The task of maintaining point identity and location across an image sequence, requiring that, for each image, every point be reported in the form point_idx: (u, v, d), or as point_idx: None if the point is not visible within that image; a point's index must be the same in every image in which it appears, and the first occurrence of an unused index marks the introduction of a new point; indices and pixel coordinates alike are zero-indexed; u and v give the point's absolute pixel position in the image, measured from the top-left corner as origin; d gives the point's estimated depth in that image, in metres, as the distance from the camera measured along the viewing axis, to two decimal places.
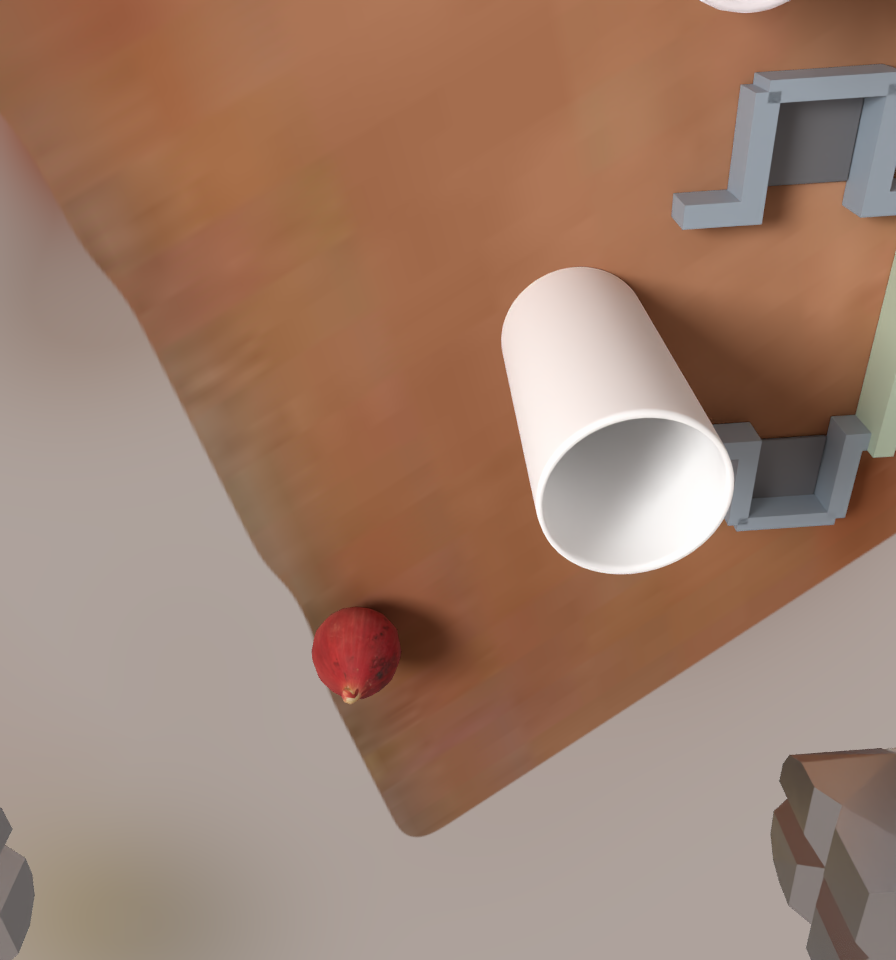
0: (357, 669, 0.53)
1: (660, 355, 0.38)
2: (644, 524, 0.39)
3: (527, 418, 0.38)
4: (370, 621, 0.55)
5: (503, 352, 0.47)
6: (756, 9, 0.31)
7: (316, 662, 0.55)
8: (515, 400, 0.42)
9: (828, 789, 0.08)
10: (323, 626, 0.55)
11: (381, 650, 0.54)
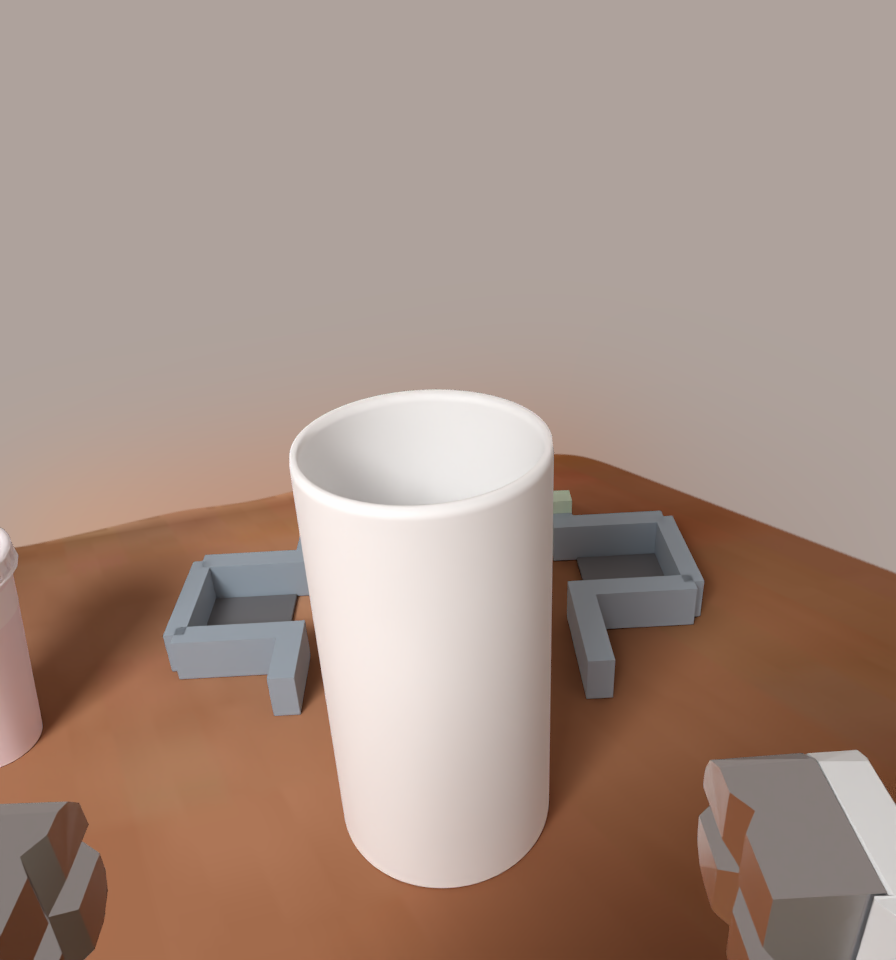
0: None
1: None
2: None
3: (388, 649, 0.25)
4: None
5: (449, 865, 0.30)
6: (2, 555, 0.34)
7: None
8: (427, 737, 0.27)
9: (742, 794, 0.08)
10: None
11: None
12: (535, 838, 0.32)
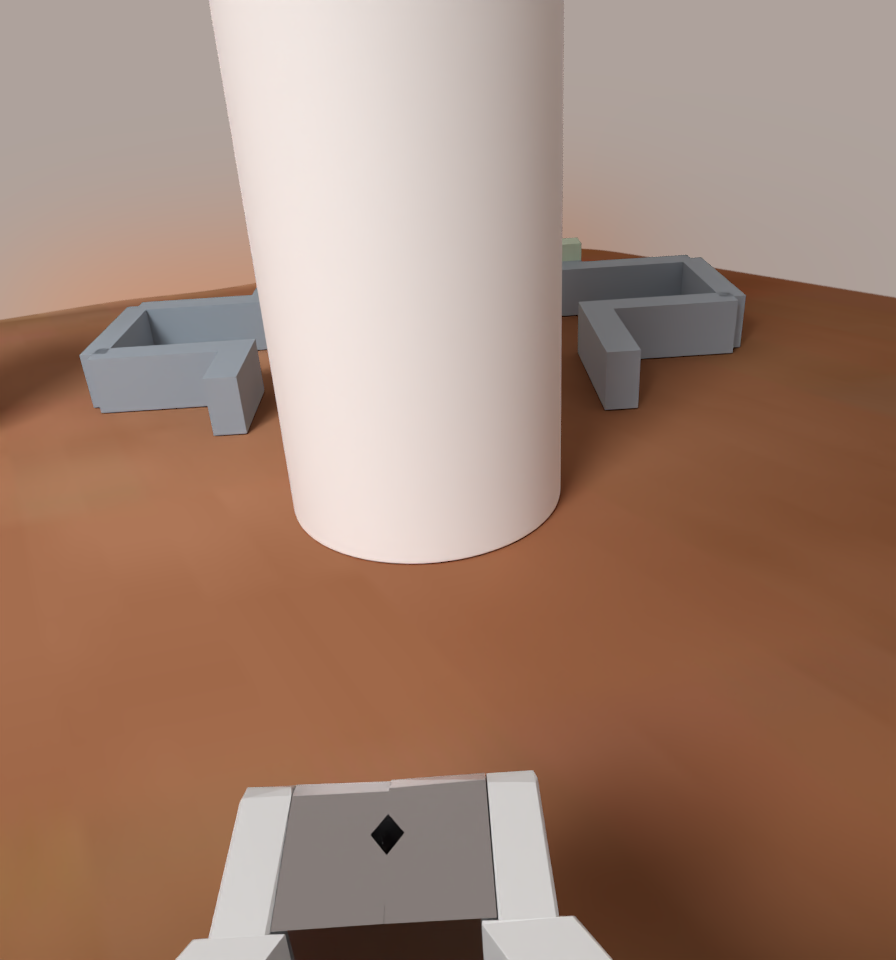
0: None
1: None
2: None
3: (330, 124, 0.18)
4: None
5: (428, 523, 0.22)
6: None
7: None
8: (391, 288, 0.19)
9: (399, 816, 0.08)
10: None
11: None
12: (543, 514, 0.24)
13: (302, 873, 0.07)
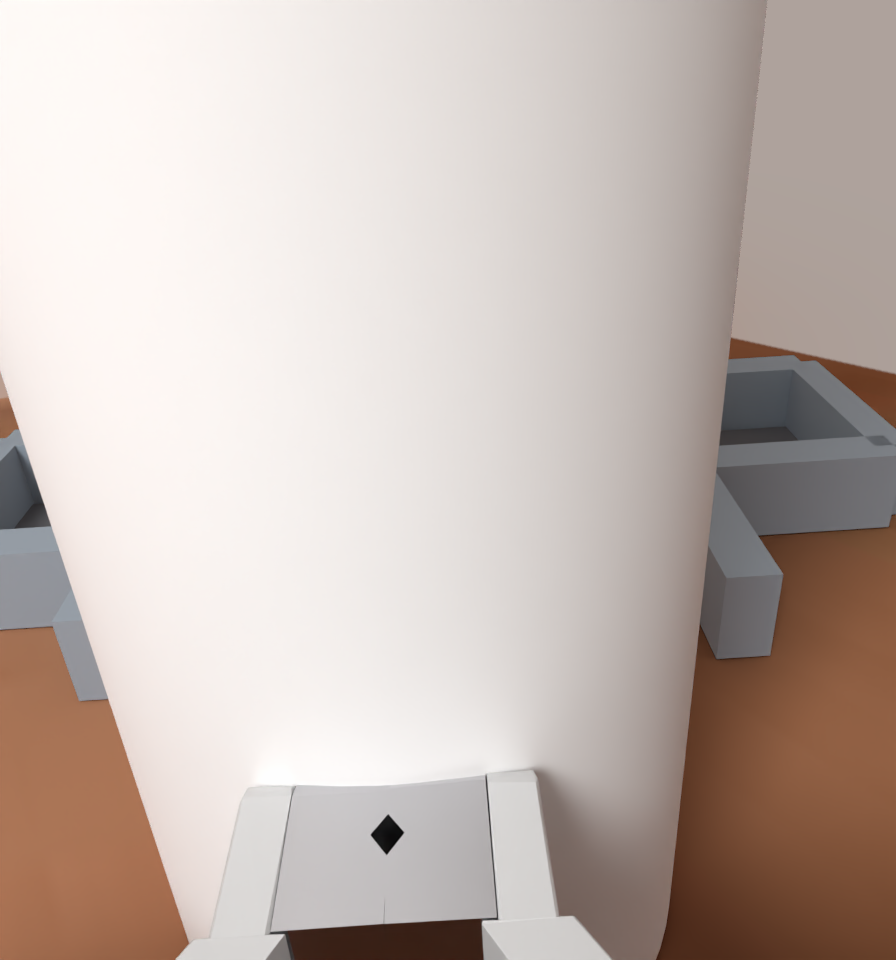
0: None
1: None
2: None
3: (162, 323, 0.06)
4: None
5: None
6: None
7: None
8: (347, 691, 0.08)
9: (399, 816, 0.08)
10: None
11: None
12: None
13: (302, 873, 0.07)
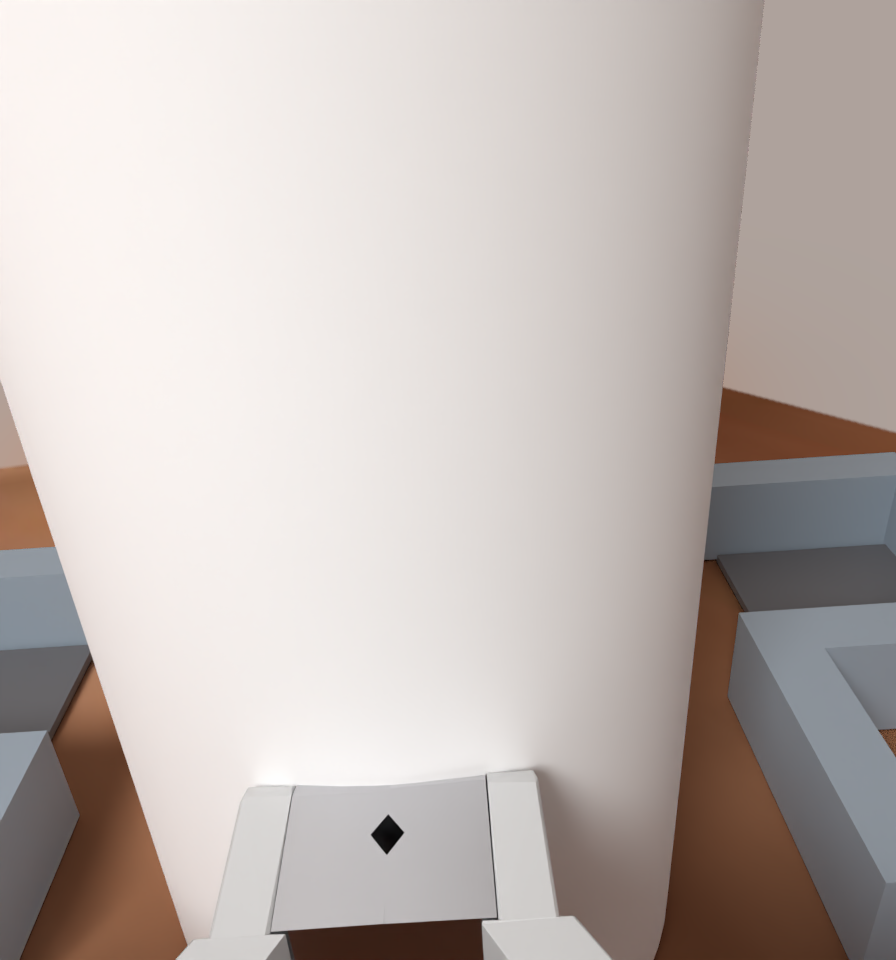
0: None
1: None
2: None
3: (165, 327, 0.06)
4: None
5: None
6: None
7: None
8: (350, 693, 0.08)
9: (399, 816, 0.08)
10: None
11: None
12: None
13: (302, 873, 0.07)
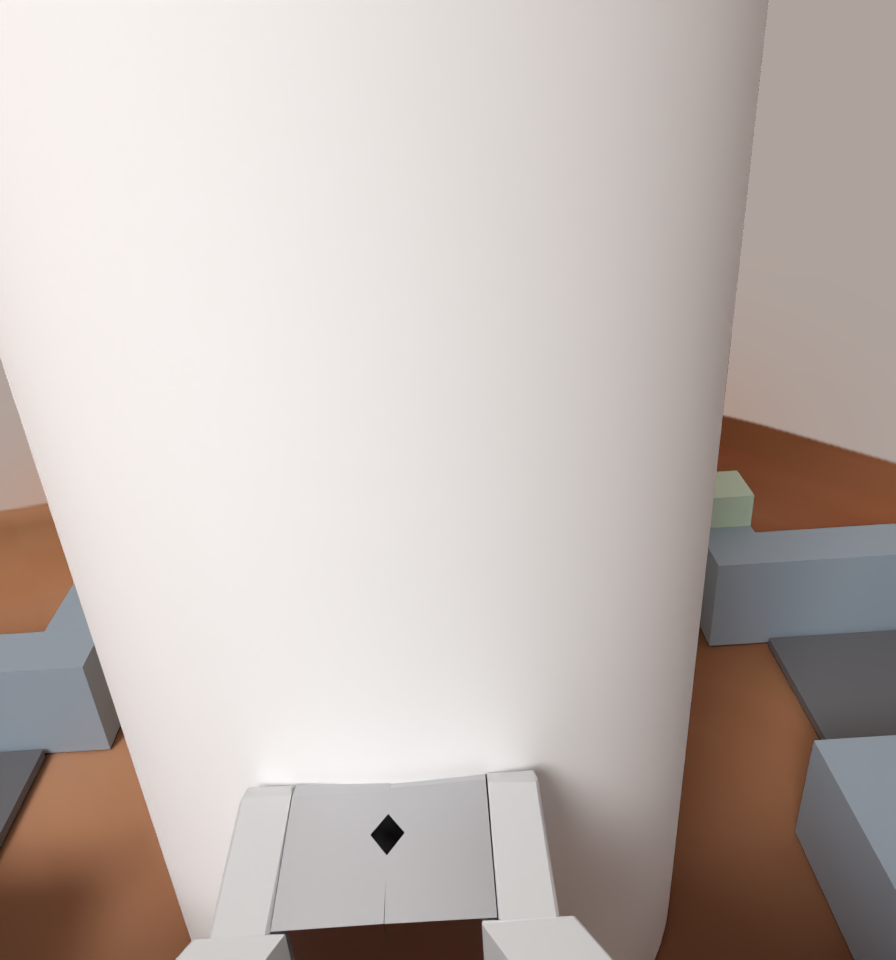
0: None
1: None
2: None
3: (167, 324, 0.06)
4: None
5: None
6: None
7: None
8: (350, 689, 0.08)
9: (400, 816, 0.08)
10: None
11: None
12: None
13: (302, 873, 0.07)
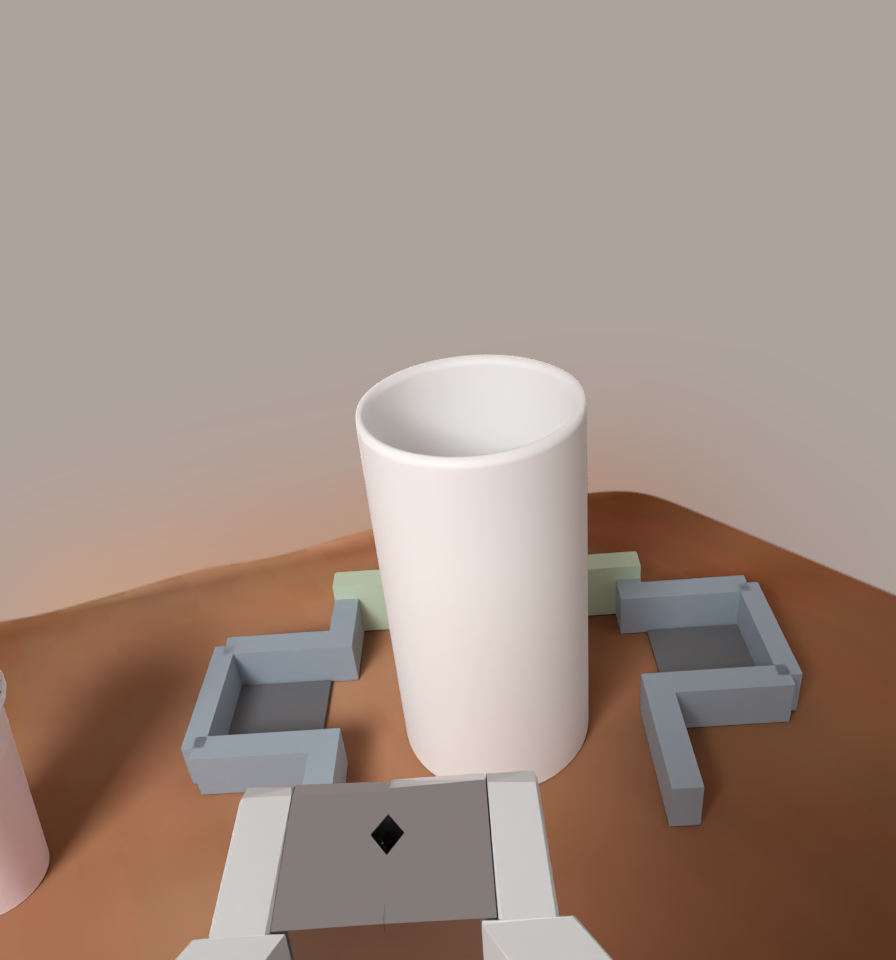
0: None
1: None
2: None
3: (446, 582, 0.29)
4: None
5: None
6: None
7: None
8: (481, 658, 0.31)
9: (399, 816, 0.08)
10: None
11: None
12: (577, 750, 0.36)
13: (302, 873, 0.07)
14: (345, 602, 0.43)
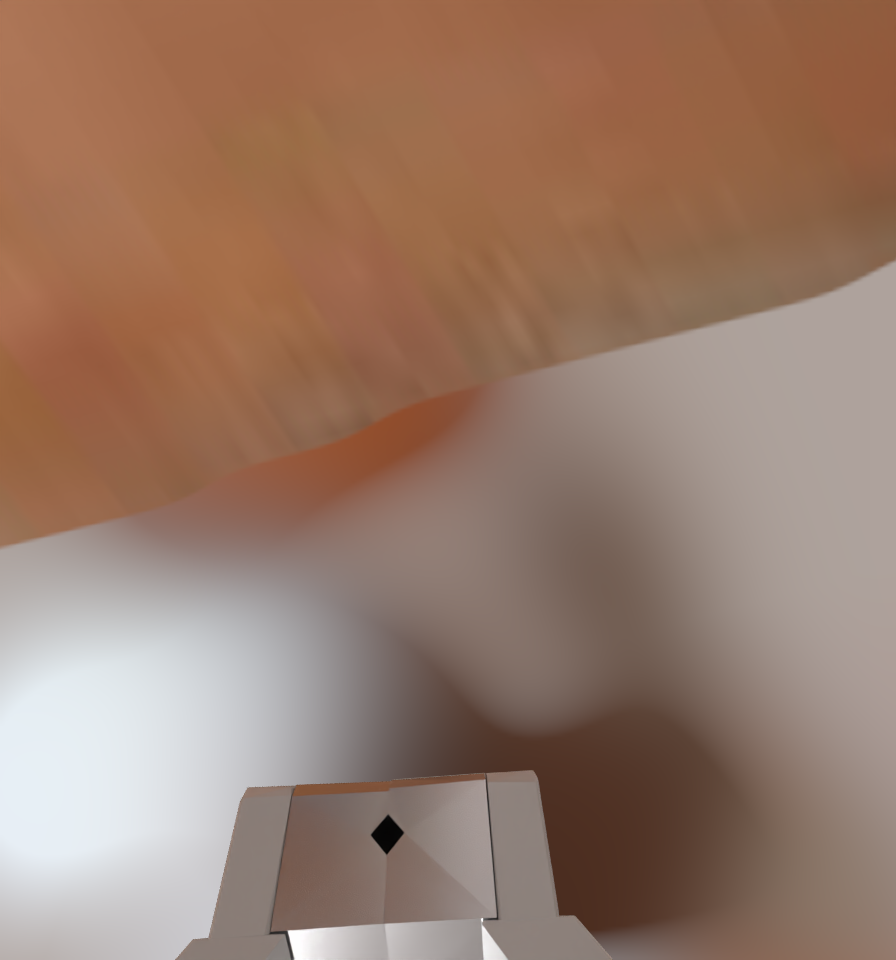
0: None
1: None
2: None
3: None
4: None
5: None
6: None
7: None
8: None
9: (400, 816, 0.08)
10: None
11: None
12: None
13: (302, 873, 0.07)
14: None
